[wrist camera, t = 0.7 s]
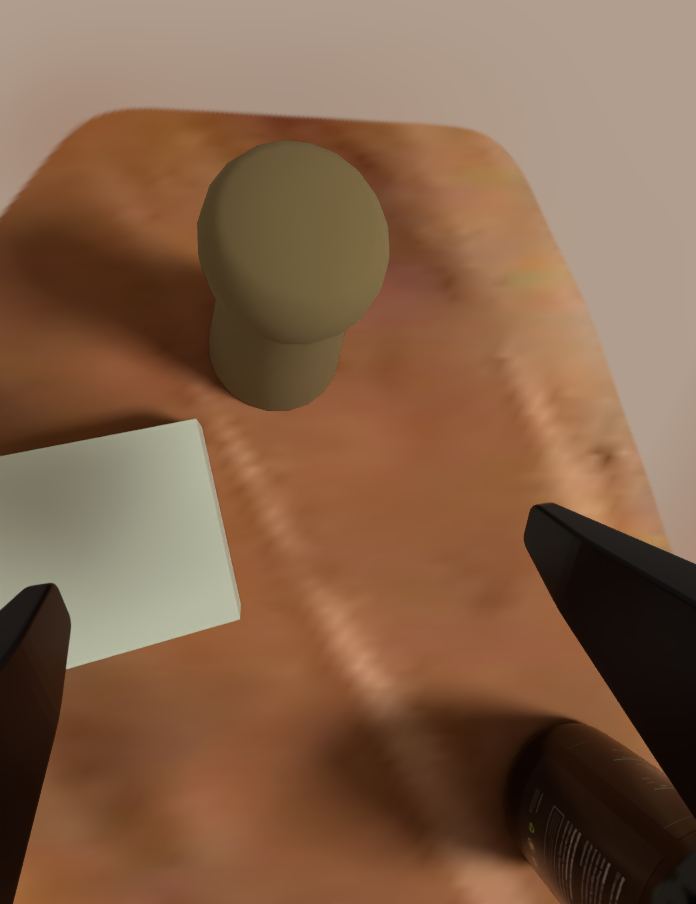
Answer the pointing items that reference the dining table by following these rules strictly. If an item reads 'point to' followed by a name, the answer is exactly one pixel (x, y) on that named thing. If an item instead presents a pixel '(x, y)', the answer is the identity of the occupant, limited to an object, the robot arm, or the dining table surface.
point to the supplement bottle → (600, 821)
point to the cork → (288, 269)
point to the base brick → (119, 537)
